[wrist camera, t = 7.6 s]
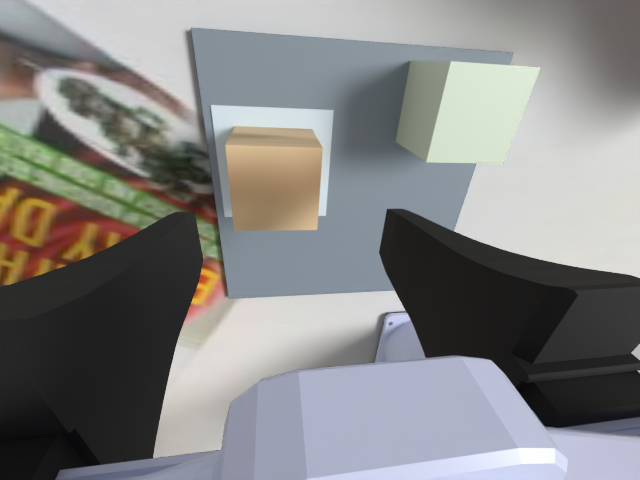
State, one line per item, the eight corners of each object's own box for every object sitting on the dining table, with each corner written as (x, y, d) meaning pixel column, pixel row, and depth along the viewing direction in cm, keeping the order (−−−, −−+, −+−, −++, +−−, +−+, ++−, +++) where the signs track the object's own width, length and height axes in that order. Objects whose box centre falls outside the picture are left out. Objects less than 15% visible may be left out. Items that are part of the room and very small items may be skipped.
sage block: (459, 143, 20) (503, 163, 16) (395, 141, 19) (426, 162, 15) (482, 65, 17) (540, 67, 14) (410, 60, 17) (450, 61, 13)
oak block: (308, 197, 20) (317, 229, 16) (241, 197, 19) (233, 231, 16) (312, 128, 18) (322, 147, 14) (235, 125, 17) (225, 144, 13)
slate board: (432, 285, 27) (435, 288, 26) (229, 295, 24) (228, 299, 24) (508, 52, 18) (514, 52, 17) (192, 28, 15) (190, 27, 15)
